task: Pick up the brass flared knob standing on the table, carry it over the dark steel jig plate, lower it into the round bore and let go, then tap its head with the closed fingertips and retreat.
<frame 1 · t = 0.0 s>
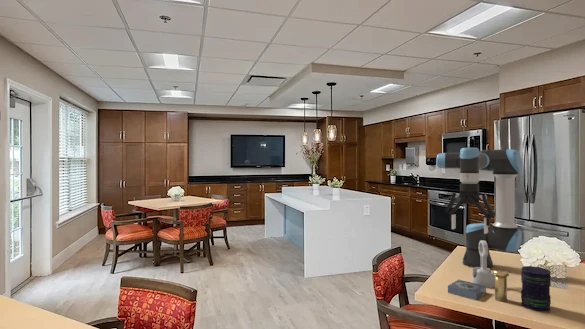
hand: (469, 231, 157), 28 cm above the table, fingers open, 13 cm apart
jig: (467, 292, 159), on the table
brass flared knob: (500, 299, 151), on the table
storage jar: (535, 307, 143), on the table
engine component: (483, 283, 170), on the table
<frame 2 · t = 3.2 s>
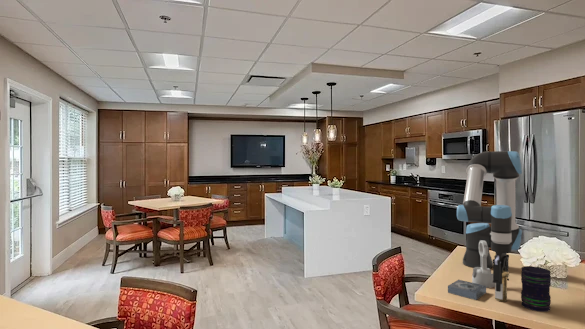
hand: (500, 296, 151), 1 cm above the table, fingers closed on brass flared knob, 4 cm apart
brass flared knob: (500, 299, 151), on the table, touching gripper
everything else where it was.
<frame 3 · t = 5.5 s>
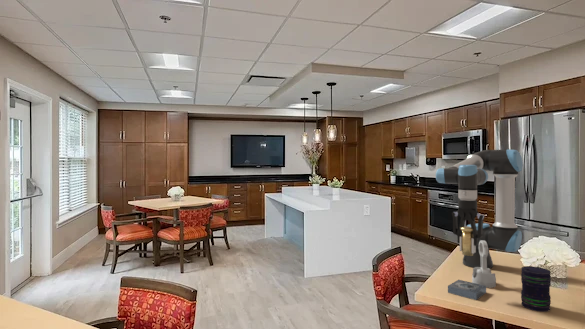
hand: (467, 251, 158), 18 cm above the table, fingers closed on brass flared knob, 4 cm apart
brass flared knob: (467, 254, 158), point 17 cm above the table, touching gripper
everything else where it was.
when the fingers open (4 cm above the table, at t = 7.8 s): brass flared knob drops 2 cm, resting in jig.
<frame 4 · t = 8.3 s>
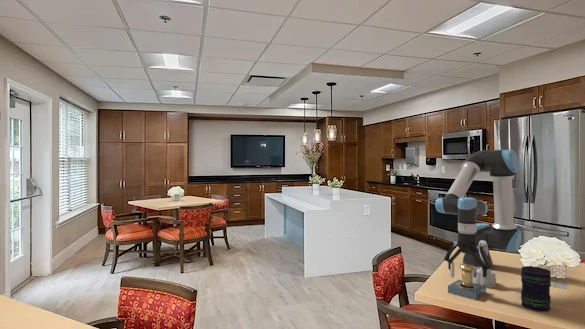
hand: (467, 280, 159), 5 cm above the table, fingers open, 12 cm apart
brass flared knob: (467, 292, 159), resting in jig
everything else where it was.
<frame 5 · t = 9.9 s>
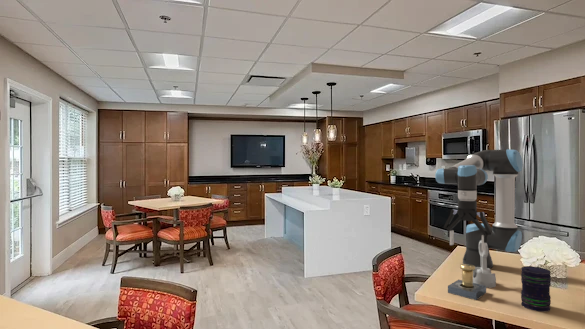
hand: (467, 247, 159), 20 cm above the table, fingers open, 13 cm apart
nothing on the table moved.
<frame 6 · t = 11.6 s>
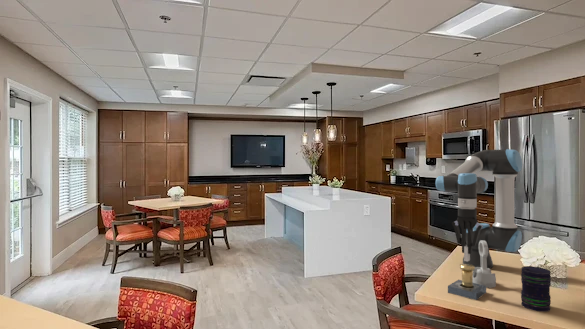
hand: (466, 260, 159), 14 cm above the table, fingers closed
nothing on the table moved.
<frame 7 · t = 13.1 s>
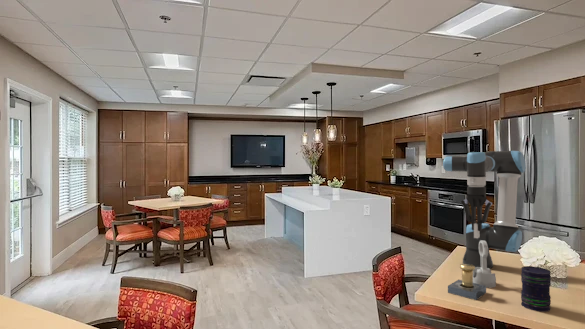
hand: (476, 237, 162), 24 cm above the table, fingers closed
nothing on the table moved.
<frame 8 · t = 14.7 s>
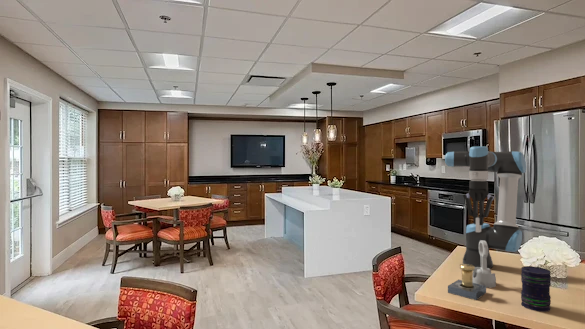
hand: (478, 231, 163), 26 cm above the table, fingers closed
nothing on the table moved.
at the end: brass flared knob 0.1 cm off-centre in the jig, point 0.0 cm above the jig's base; brass flared knob tilted 1°; the gripper is holding nothing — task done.
